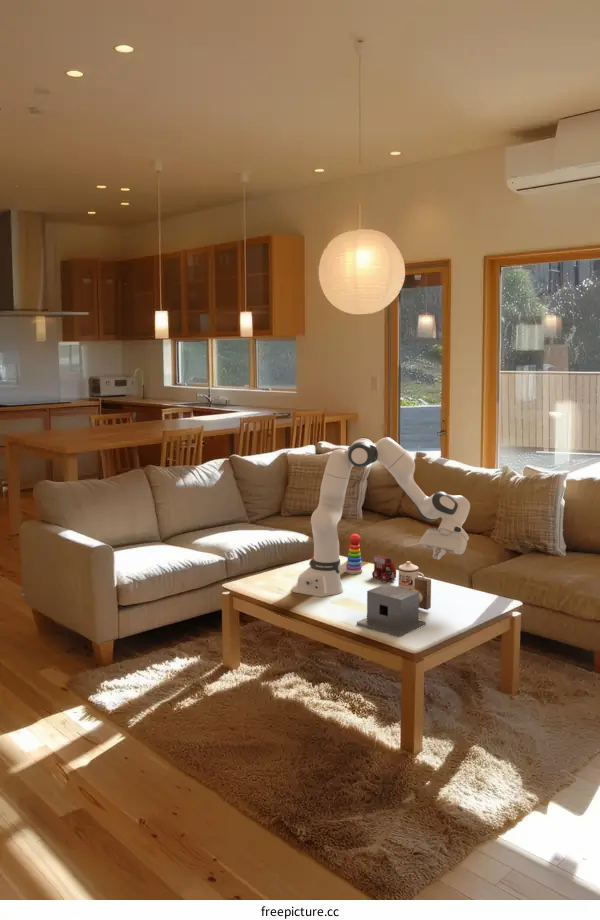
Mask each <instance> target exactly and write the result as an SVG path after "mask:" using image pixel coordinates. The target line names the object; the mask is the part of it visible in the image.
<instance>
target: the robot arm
mask: <svg viewBox="0 0 600 920" xmlns="http://www.w3.org/2000/svg"><path fill="white" fill-rule="evenodd" d="M375 462H379V463H380V464H382V465H383V467H384V468H385V469H387V471H388V472H389V473H390V474H391V475H392V476H393V478H394V479H395V481H396V483H397V485H398V486H399V487H400V488H401V490H402V491H403V492H404V493H405V495H406V496H407V497H408V499H409V500H410V501H411V502H412V504H413V505H414V506H415V507H416V511H417V512H418V514H419V516H420V518H422V520H424V521H426V522H435V521H436V520H438V519H440V518H441V522H440V523H439V526H438V528H434V527H430V528H428V529H426V530H425V532H424V533H423V535H422V536H421V538H420V540H419V544H420V545H421V547H422V548H425V549H429V550H433V551H432V553H433V554H432V559H433V560H434V559H435V560H441V558H442V557H443V556H444V555H446V554H447V553H450V554H457V555H462V554H464V553H465V551H466V549H467V547H468V546H467V545H468V541H469V539H470V537H469V535H468V533H467V532H466V531H465V529H464V528H462V527H463V525H464V523H465V522H466V520H467V519H468V518H467V517H469V513H470V509H471V503H470V501H469V500H468V499H467V498H466V497H465V496H463V495H461V494H460V495H459V494H458V495H453V494H450V493H449V494H448V493H447V492H445V491H438V492H435V493H433V494H432V495H430V496H427V495H426V493H424V491H423V490H422V489H421V488H420V487H419V486H418V484H417V483H416V481H415V479H414V473H415V471H416V462H415V461H414V458H413V457H412V455H410V453H408V452H407V451H406V450H405V449H404V448H403V446H402V445H400V444H399V443H398V442H396V441H395V440H394V439H392V438H391V437H389V436H388V437H387V436H386V437H383V438H380V439H379V440H378V441H377V442H374V441H373V440H372V439H371V438H369V437H364V436H363V437H359V438H357V439H355V440H354V441H353V442H352V444H351V445H350V446H349V447H348V448H347V449H342V448H341V449H340V448H338V449H334V450H332V452H331V453H330V455H329V457H328V460H327V462H326V465H325V468H324V472H323V476H322V479H321V480H322V481H321V485H320V488H319V489H320V490H319V491H320V493H319V500H318V501H319V502H318V504H317V508H316V509H314V511H313V512H312V514H311V518H310V524H311V529H312V537H313V556H312V557H311V559H310V560H309V564H308V565H309V567H308V568H306V569H305V570H303V571H302V572H301V573H300V574H299V575H298V577H297V580H296V581H297V582H296V583H295V584H294V585H292V587H291V588H292V589H291V591H292V593H297V594H302V595H303V594H304V595H309V596H314V597H321V598H322V597H327V596H334V595H338V594H341V593H343V591H344V590H343V585H342V580H341V564H342V563H341V559H340V541H339V535H338V523H339V522H340V521H341V519H342V515H343V510H344V505H345V497H346V494H347V493H346V492H347V489H348V484H349V480H350V475H351V473H352V472H351V471H352V470H353V467H356V468H364V467H367V466H369V465H371V464H373V463H375ZM438 552H439V553H438Z"/></svg>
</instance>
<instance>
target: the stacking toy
mask: <svg viewBox="0 0 600 920" xmlns="http://www.w3.org/2000/svg"><path fill="white" fill-rule="evenodd" d="M349 542H350V544H349V548H348V553H347V555H348V556H347V560H346V565H345V573H346V574H349V575H359V573H360V574H361V573H363V569H362V568H363V565H362V563H363V562H362V557H361V549H360V548H361V545H360V542H361V536H360V534H357V533H352V534H351V535H350V536H349Z"/></svg>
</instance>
